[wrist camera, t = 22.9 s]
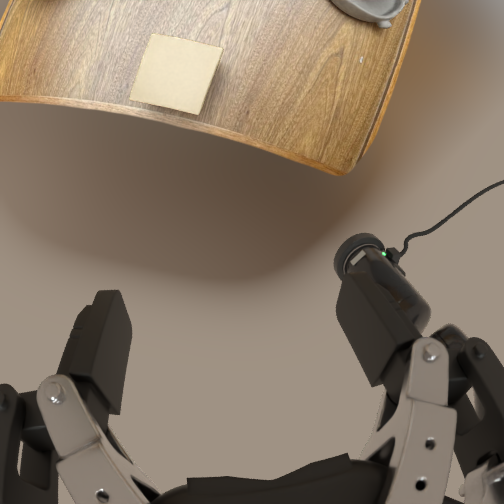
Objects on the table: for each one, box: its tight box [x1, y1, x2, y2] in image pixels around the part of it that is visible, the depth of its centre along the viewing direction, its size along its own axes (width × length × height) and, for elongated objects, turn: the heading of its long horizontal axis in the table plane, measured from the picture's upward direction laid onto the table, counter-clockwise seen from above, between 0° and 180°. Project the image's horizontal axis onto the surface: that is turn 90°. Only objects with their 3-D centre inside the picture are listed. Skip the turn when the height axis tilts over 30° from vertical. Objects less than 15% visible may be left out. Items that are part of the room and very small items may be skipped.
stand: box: [129, 33, 224, 115], centre depth 28 cm, size 8×8×11 cm
